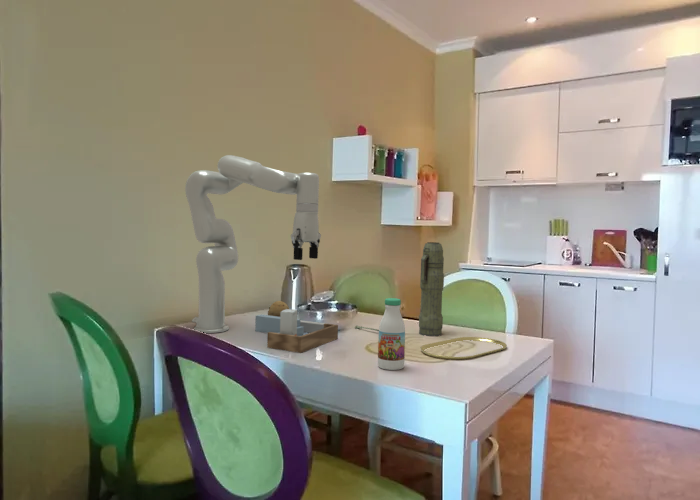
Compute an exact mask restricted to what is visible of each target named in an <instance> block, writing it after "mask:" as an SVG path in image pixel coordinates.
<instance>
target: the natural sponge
mask: <svg viewBox="0 0 700 500" xmlns="http://www.w3.org/2000/svg"><path fill="white" fill-rule="evenodd" d="M286 309H290V307H289V306H288V304H287V303H286V302H284V301H282V300H276V301H273V303H271V305H270V306H269V309H268V311H267V315H269V316H277V317H280V312H281V311H283V310H286Z"/></svg>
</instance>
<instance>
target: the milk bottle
mask: <svg viewBox="0 0 700 500" xmlns="http://www.w3.org/2000/svg"><path fill="white" fill-rule="evenodd" d="M401 305H402V301H401V299H400V298H396V297H395V298H394V297H393V298H392V297H388V298H385V299H384V308H385V310H384V314H383V315H382V318H381V320H380V321H379V327H378V330H379V331H378V341H377V343H378V346H377V348H378V349H377V351H378V352H377V365H378V367H379V368H380V369H383V370H388V371H389V370H390V371H399V370H402V369H404V367H405V357H406V356H405V355H406V353H405V352H406V327H405V321H404V320H403V316H402V314H401V311H400V310H401Z"/></svg>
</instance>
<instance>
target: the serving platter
mask: <svg viewBox="0 0 700 500" xmlns="http://www.w3.org/2000/svg"><path fill="white" fill-rule="evenodd" d="M463 340H473V341H472V342H482V341H486V342H485V343H489V342H493V343H496V344H495V345H497V344H500V345H502V346H503V348H502V347H500V348H496V349H493V350H489V351H485V352H480V353H478V354H477V353H476V354H473V355H469V356H468V355H467V356H449V355H440V354H439V355H438V354H433V353H431V352H427V351H424V350H425V349H427V348H430V347H434V346H438V345H443V344H447V343H451V342H456V341H462V342H464V341H463ZM493 343H492V344H493ZM443 346H444V345H443ZM507 346H508V344H507V343H506V342H504V341H502V340H497V339H493V338H489V337H478V336H463V337H461V336H460V337H455V338H451V339H446V340H442V341H437V342H432V343H428V344H424V345H422V346H421V347H420V350H421V352H422V354H424V355H426V356H428V355H429V357H431V356H432V358H435V357H436V358H435V359H440V358H441V360H448V359H451V361H454V360H455V361H462V360H464V359H466V360H471V358H472V359H475V358H478V357H482V356H486V354H487V355H490V353H491V354H494V353H497V351H498V352H501V350H502V351H503V350H505V349H506V348H507ZM434 348H435V347H434ZM430 349H431V348H430ZM427 350H428V349H427ZM464 361H465V360H464Z"/></svg>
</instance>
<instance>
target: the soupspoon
mask: <svg viewBox="0 0 700 500" xmlns="http://www.w3.org/2000/svg"><path fill="white" fill-rule="evenodd" d="M354 329H356V330H359V329H365V330H371V331H377V332H379V328H372V327H365V326H359V325H355V326H354Z"/></svg>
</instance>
